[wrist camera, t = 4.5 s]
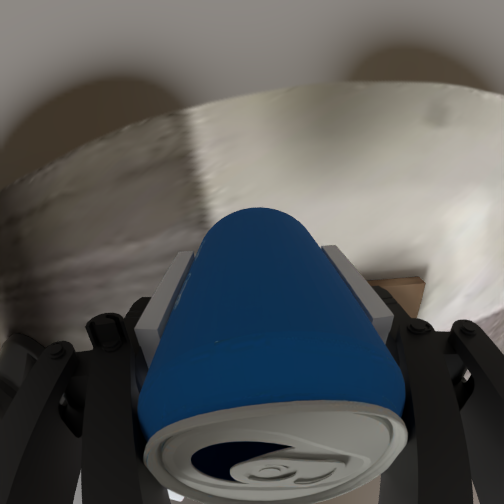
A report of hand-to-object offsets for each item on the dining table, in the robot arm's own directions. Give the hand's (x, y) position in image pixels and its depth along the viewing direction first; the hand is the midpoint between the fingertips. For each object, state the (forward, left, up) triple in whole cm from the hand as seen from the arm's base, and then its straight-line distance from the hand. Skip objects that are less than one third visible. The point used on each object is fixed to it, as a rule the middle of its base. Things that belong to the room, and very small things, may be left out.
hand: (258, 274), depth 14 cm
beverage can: (0, 0, -2) cm, 2 cm away
